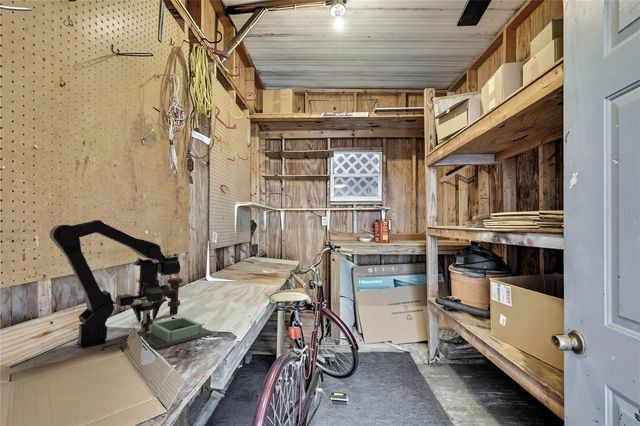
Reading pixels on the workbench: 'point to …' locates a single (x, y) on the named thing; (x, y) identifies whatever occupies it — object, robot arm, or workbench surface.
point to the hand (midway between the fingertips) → (146, 320)
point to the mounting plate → (160, 343)
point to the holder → (189, 329)
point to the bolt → (174, 301)
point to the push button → (146, 315)
